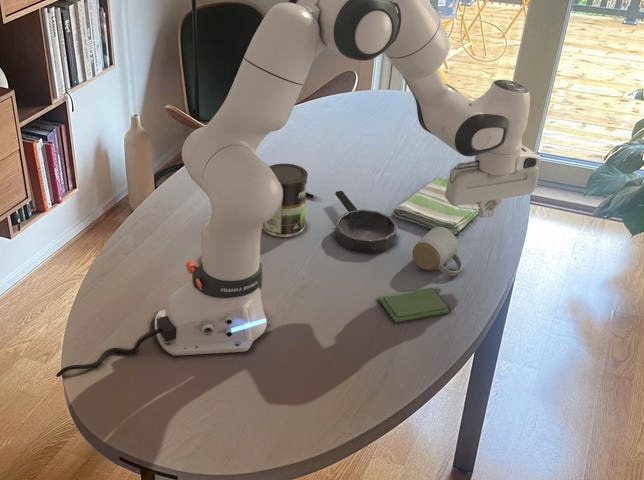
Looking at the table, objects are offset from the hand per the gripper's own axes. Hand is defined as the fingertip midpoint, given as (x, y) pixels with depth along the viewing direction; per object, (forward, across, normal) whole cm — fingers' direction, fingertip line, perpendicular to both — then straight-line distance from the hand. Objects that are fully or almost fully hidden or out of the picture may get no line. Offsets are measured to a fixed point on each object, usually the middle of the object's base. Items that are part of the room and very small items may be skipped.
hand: (485, 215), depth 179 cm
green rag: (+11, -22, -13) cm, 28 cm away
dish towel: (+12, +3, +22) cm, 25 cm away
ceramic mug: (+11, -10, 0) cm, 15 cm away
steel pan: (+11, -21, +21) cm, 31 cm away
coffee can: (+11, -38, +25) cm, 47 cm away
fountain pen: (+11, -30, +40) cm, 52 cm away
